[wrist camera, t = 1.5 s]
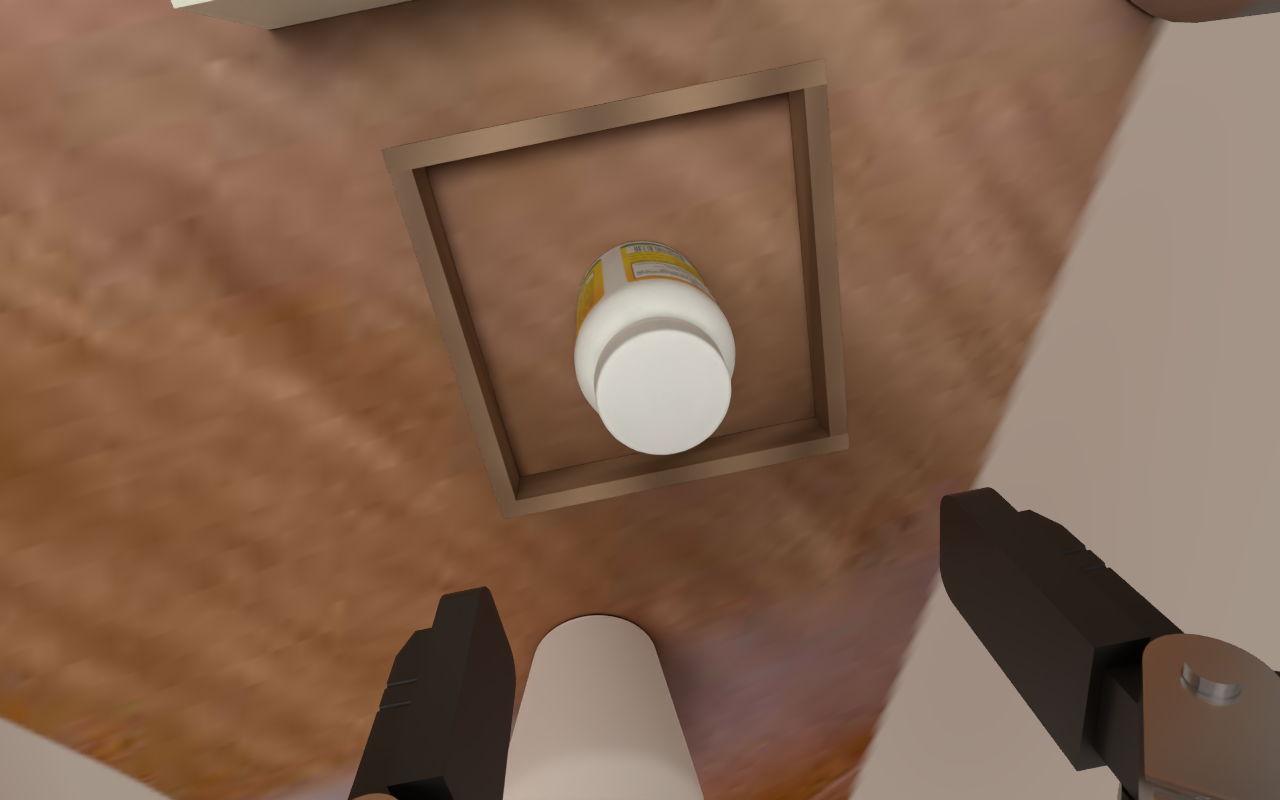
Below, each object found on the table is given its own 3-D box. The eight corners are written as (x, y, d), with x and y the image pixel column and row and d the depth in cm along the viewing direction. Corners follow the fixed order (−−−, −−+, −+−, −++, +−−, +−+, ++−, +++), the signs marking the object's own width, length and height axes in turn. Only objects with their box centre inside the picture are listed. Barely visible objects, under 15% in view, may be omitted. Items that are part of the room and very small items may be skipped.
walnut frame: (807, 61, 25) (825, 58, 23) (833, 428, 31) (848, 449, 29) (396, 146, 25) (381, 150, 23) (507, 495, 31) (502, 519, 29)
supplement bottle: (668, 215, 27) (711, 269, 18) (723, 327, 29) (785, 425, 20) (551, 278, 27) (537, 361, 19) (613, 383, 29) (627, 503, 21)
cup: (694, 697, 38) (740, 941, 27) (541, 737, 38) (525, 994, 27) (655, 575, 34) (690, 800, 23) (486, 620, 34) (441, 864, 23)
